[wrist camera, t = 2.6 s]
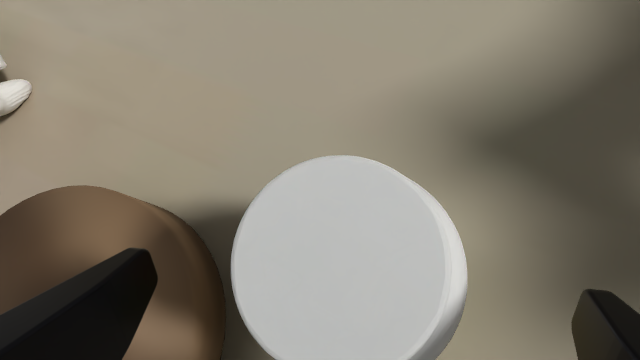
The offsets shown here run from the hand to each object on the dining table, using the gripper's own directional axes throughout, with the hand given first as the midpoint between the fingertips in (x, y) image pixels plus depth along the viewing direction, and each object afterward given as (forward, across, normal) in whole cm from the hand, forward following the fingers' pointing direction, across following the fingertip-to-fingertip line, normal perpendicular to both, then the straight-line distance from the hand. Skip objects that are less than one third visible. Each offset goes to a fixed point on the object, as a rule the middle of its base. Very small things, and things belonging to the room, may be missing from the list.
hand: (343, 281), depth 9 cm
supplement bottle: (+6, 0, +6) cm, 8 cm away
